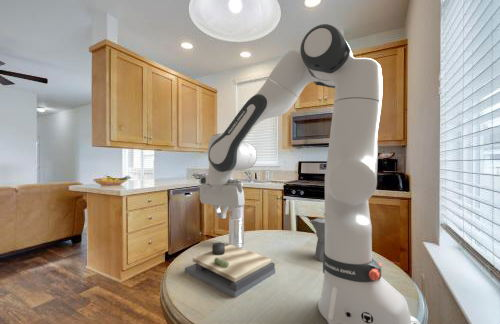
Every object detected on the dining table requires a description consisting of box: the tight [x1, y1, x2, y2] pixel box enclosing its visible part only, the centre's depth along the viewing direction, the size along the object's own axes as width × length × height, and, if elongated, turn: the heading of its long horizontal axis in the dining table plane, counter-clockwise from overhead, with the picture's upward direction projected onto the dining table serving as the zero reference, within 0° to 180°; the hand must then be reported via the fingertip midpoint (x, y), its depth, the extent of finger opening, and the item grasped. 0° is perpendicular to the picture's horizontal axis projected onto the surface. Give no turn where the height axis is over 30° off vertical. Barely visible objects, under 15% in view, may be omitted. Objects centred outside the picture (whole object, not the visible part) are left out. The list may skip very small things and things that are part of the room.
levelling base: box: [184, 261, 276, 298], centre depth 81 cm, size 24×20×4 cm
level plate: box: [192, 242, 272, 282], centre depth 80 cm, size 20×18×4 cm
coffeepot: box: [309, 212, 325, 263], centre depth 94 cm, size 15×9×18 cm, turn 86°
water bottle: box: [228, 205, 245, 249], centre depth 107 cm, size 7×7×25 cm
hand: (221, 217), depth 84 cm, fingers closed
